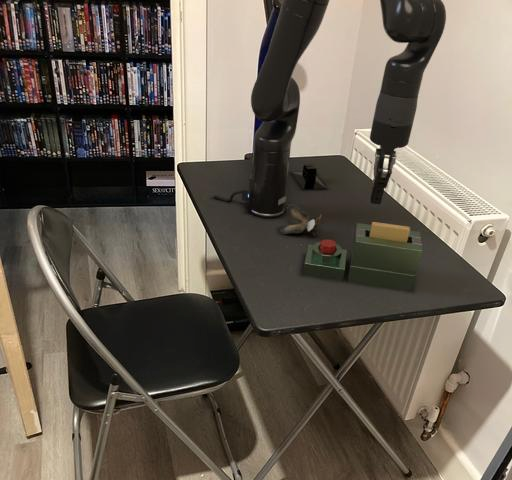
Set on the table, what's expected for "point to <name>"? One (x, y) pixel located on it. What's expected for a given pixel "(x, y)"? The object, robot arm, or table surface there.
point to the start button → (327, 246)
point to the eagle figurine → (302, 218)
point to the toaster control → (325, 263)
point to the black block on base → (308, 178)
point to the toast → (389, 232)
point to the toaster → (384, 260)
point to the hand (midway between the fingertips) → (375, 202)
